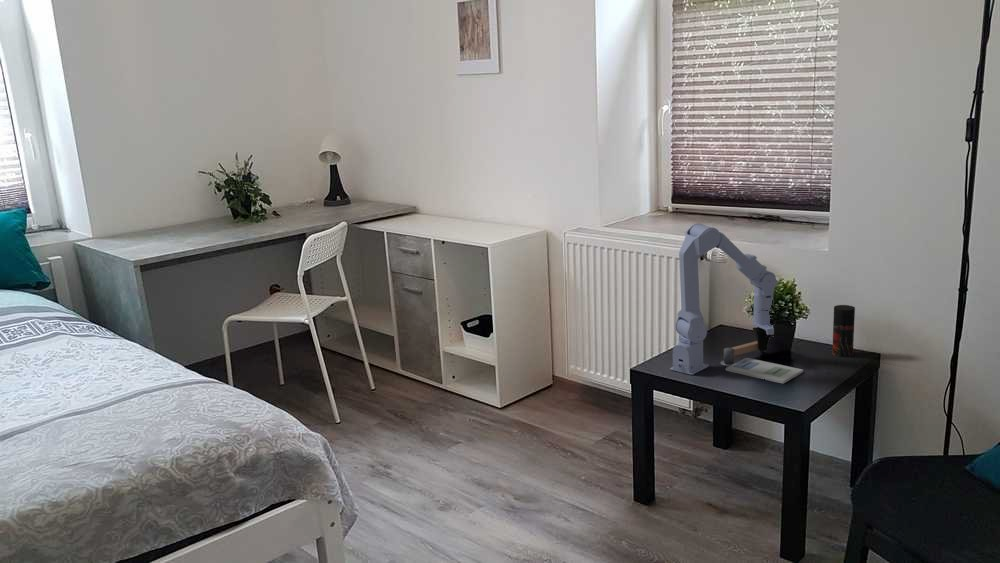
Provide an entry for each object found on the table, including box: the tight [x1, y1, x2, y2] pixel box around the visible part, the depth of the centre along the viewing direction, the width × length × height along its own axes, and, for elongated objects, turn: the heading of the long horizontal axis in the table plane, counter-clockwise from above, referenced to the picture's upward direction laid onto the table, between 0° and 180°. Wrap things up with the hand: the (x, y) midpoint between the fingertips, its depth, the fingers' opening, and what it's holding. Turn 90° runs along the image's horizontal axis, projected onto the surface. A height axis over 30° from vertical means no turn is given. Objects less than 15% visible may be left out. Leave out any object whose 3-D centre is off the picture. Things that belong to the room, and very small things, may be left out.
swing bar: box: [723, 340, 759, 364], centre depth 256 cm, size 22×3×4 cm, turn 118°
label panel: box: [720, 357, 804, 384], centre depth 245 cm, size 12×24×1 cm, turn 44°
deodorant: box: [831, 304, 856, 358], centre depth 253 cm, size 6×6×15 cm
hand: (762, 350), depth 255 cm, fingers closed
